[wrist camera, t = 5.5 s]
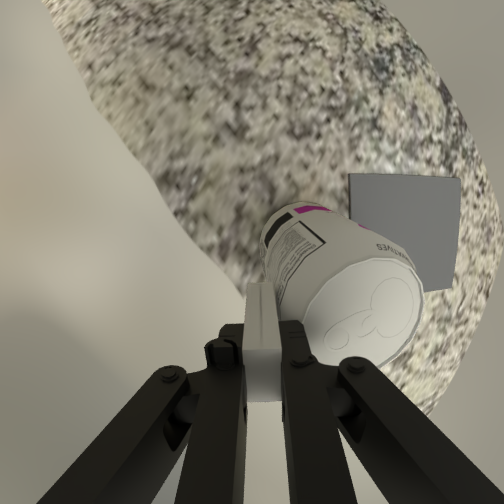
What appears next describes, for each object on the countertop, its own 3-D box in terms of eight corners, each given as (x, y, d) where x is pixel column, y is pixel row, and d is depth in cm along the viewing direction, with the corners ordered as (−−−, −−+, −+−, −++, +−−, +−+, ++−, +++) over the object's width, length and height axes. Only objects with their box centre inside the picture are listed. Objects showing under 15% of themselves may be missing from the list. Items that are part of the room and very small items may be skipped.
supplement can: (322, 186, 25) (417, 214, 11) (351, 261, 28) (437, 341, 14) (243, 223, 26) (257, 295, 12) (279, 296, 28) (318, 406, 14)
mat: (348, 173, 25) (350, 173, 25) (458, 178, 25) (460, 178, 24) (347, 299, 29) (348, 301, 28) (449, 286, 28) (451, 287, 28)
